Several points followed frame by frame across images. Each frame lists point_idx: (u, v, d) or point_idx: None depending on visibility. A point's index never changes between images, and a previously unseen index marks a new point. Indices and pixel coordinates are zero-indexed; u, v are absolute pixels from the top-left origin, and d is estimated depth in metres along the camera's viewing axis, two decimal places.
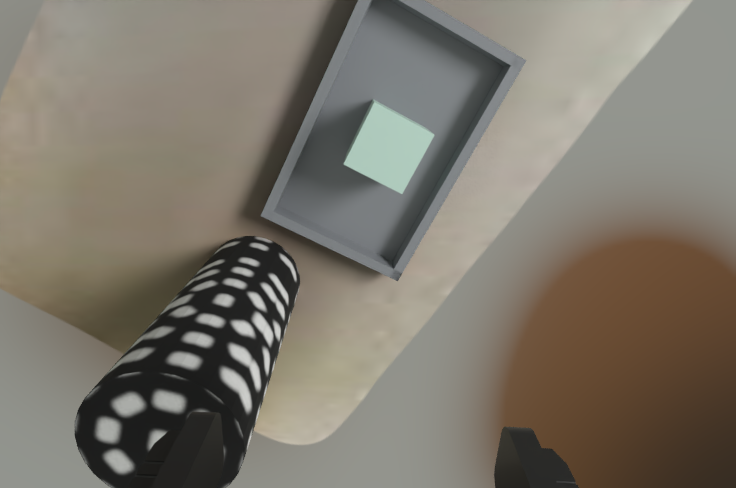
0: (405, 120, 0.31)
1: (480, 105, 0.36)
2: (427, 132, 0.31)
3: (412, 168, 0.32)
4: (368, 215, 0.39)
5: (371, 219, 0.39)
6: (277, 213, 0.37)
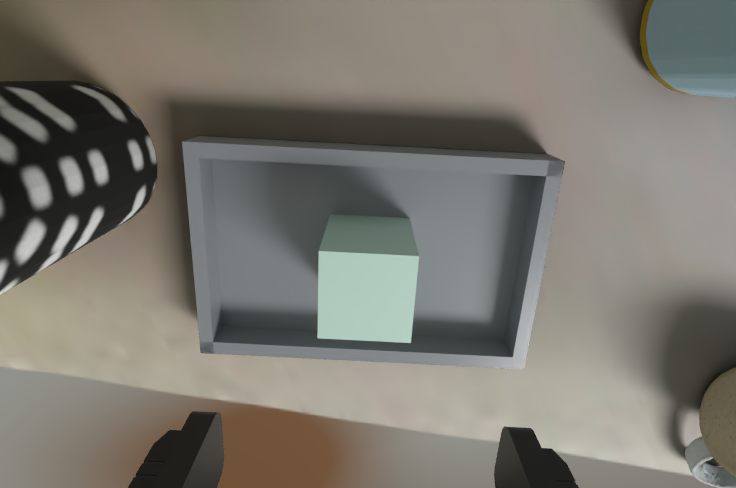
0: (412, 302, 0.22)
1: (453, 336, 0.29)
2: (409, 333, 0.22)
3: (356, 336, 0.22)
4: (263, 273, 0.28)
5: (260, 278, 0.28)
6: (199, 164, 0.24)
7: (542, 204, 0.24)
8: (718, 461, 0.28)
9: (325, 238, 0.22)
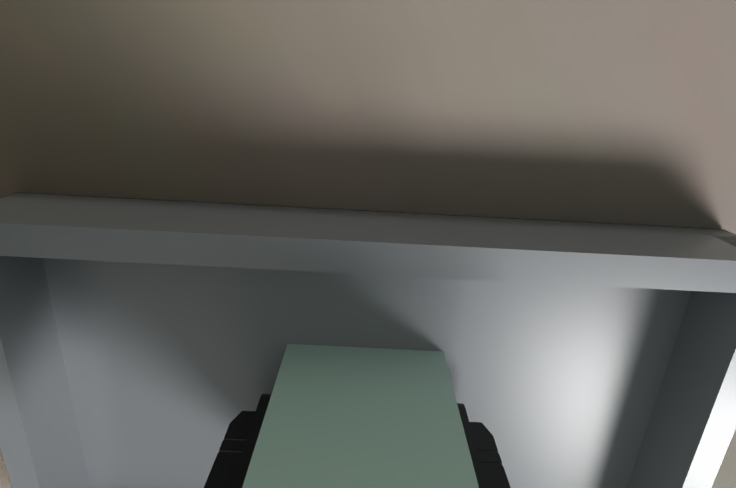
0: None
1: None
2: None
3: None
4: (165, 443, 0.15)
5: (160, 452, 0.15)
6: None
7: None
8: None
9: (258, 458, 0.09)
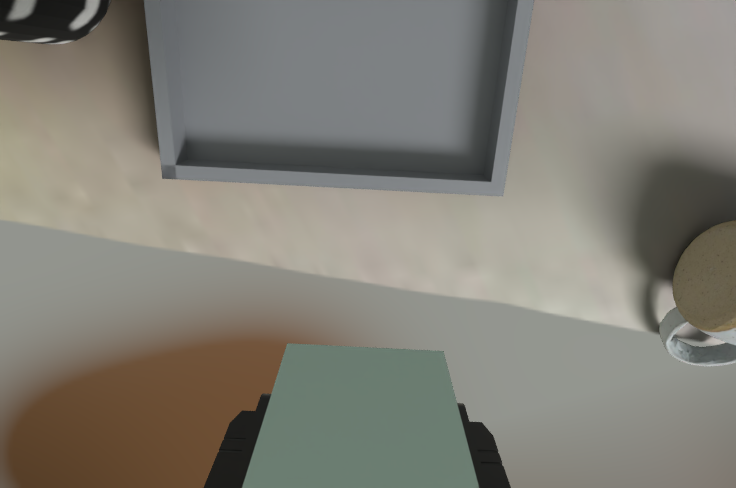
0: None
1: (430, 171, 0.28)
2: None
3: None
4: (229, 95, 0.26)
5: (226, 102, 0.27)
6: None
7: None
8: (690, 320, 0.28)
9: (258, 457, 0.09)
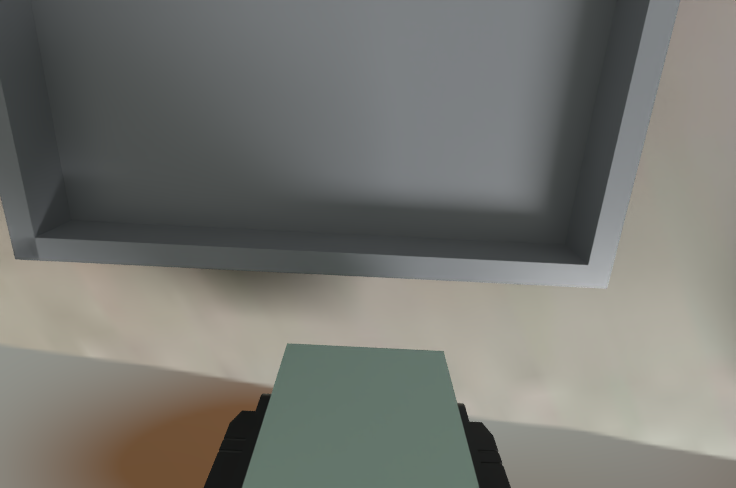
0: None
1: (476, 238, 0.17)
2: None
3: None
4: (132, 114, 0.15)
5: (127, 126, 0.15)
6: None
7: None
8: None
9: (258, 458, 0.09)
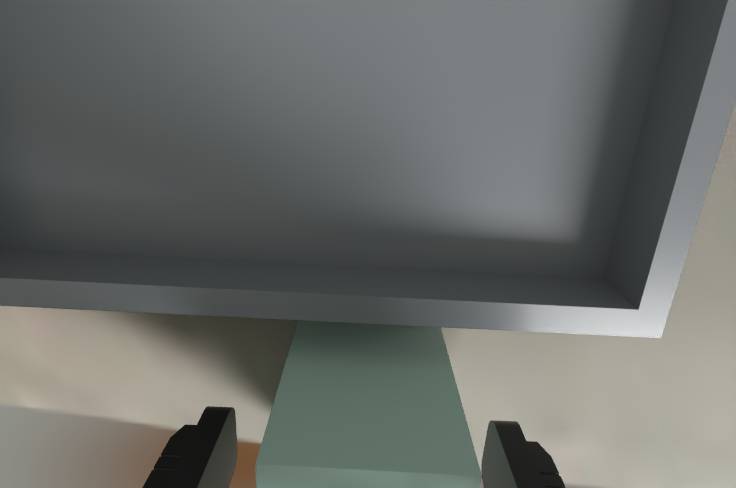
0: None
1: (495, 271, 0.14)
2: None
3: None
4: (63, 118, 0.12)
5: (59, 132, 0.12)
6: None
7: None
8: None
9: (278, 406, 0.11)
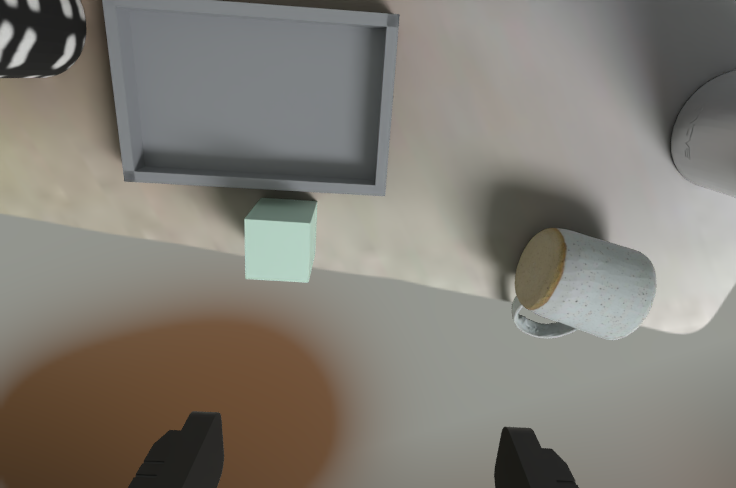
0: (308, 254, 0.33)
1: (333, 176, 0.36)
2: (307, 276, 0.34)
3: (271, 277, 0.34)
4: (176, 118, 0.35)
5: (174, 123, 0.35)
6: (116, 11, 0.30)
7: (386, 51, 0.32)
8: (520, 301, 0.37)
9: (251, 212, 0.34)
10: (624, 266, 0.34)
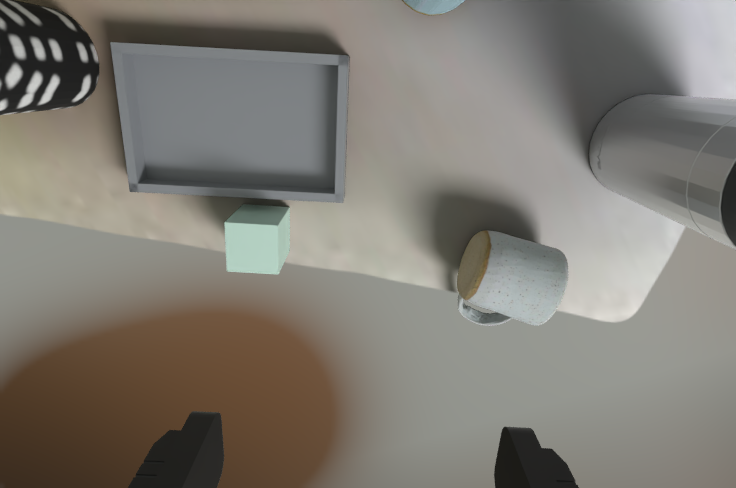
0: (277, 251, 0.40)
1: (302, 186, 0.44)
2: (277, 269, 0.41)
3: (248, 270, 0.41)
4: (172, 139, 0.42)
5: (170, 143, 0.42)
6: (122, 57, 0.38)
7: (339, 84, 0.39)
8: (459, 293, 0.44)
9: (231, 216, 0.41)
10: (540, 262, 0.40)
